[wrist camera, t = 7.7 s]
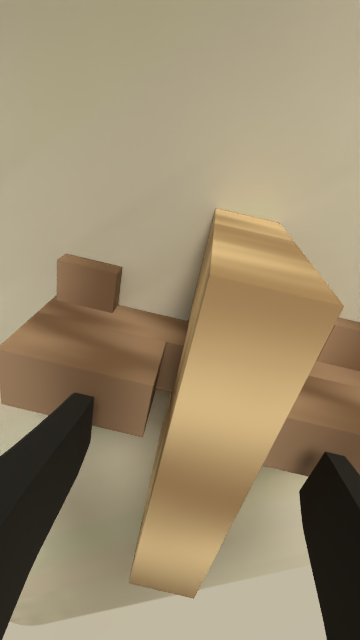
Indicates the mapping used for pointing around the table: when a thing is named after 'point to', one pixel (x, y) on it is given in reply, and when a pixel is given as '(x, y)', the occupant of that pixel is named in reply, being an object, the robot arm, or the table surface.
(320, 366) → the walnut rail
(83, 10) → the table surface
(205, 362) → the tan tapered flat block
